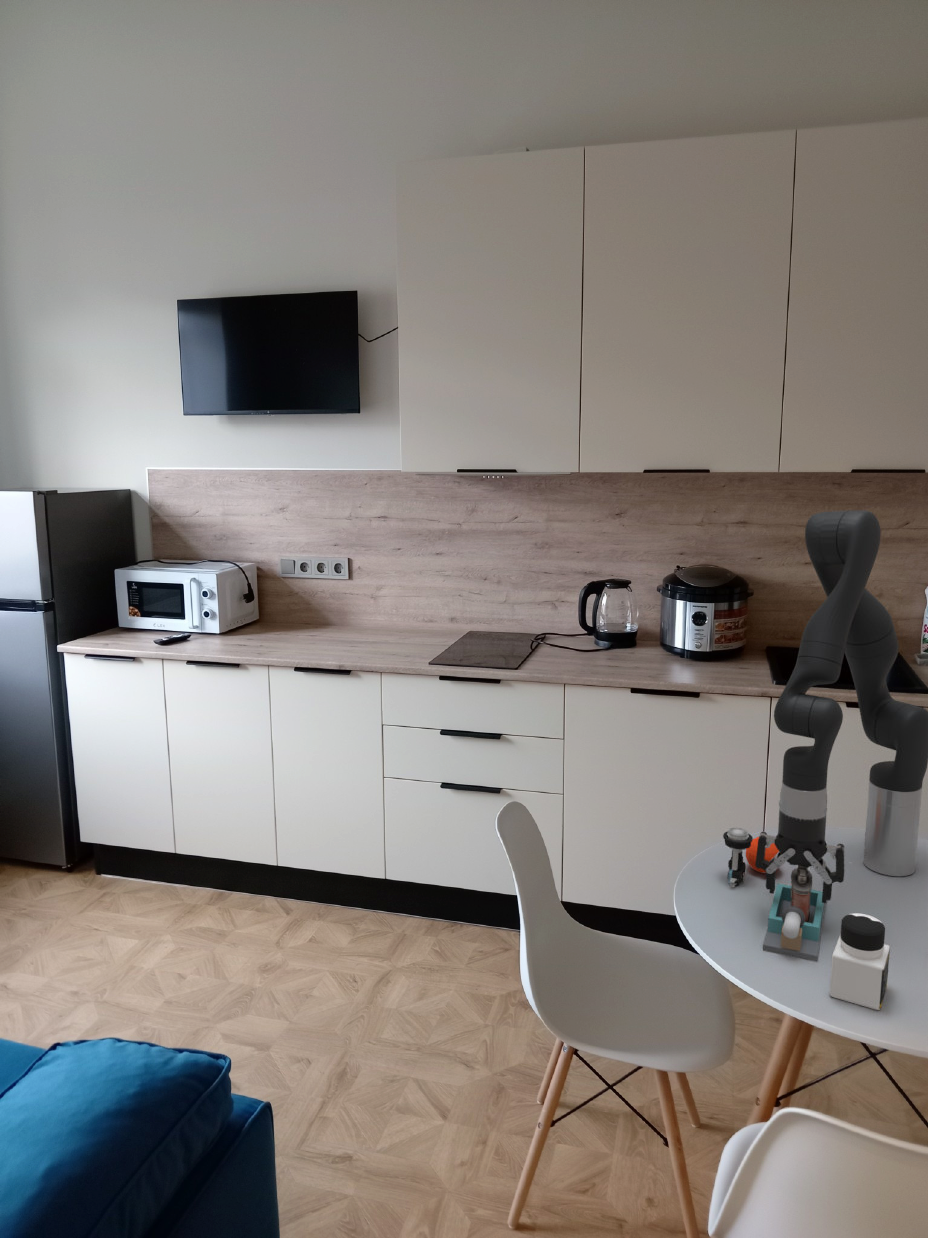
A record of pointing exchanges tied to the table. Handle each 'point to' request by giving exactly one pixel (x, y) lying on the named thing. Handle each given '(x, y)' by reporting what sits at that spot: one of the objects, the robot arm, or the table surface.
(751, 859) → the clementine
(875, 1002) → the medicine bottle
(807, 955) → the shaft cradle
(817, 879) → the table surface
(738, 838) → the push button
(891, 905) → the table surface
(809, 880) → the lighter
